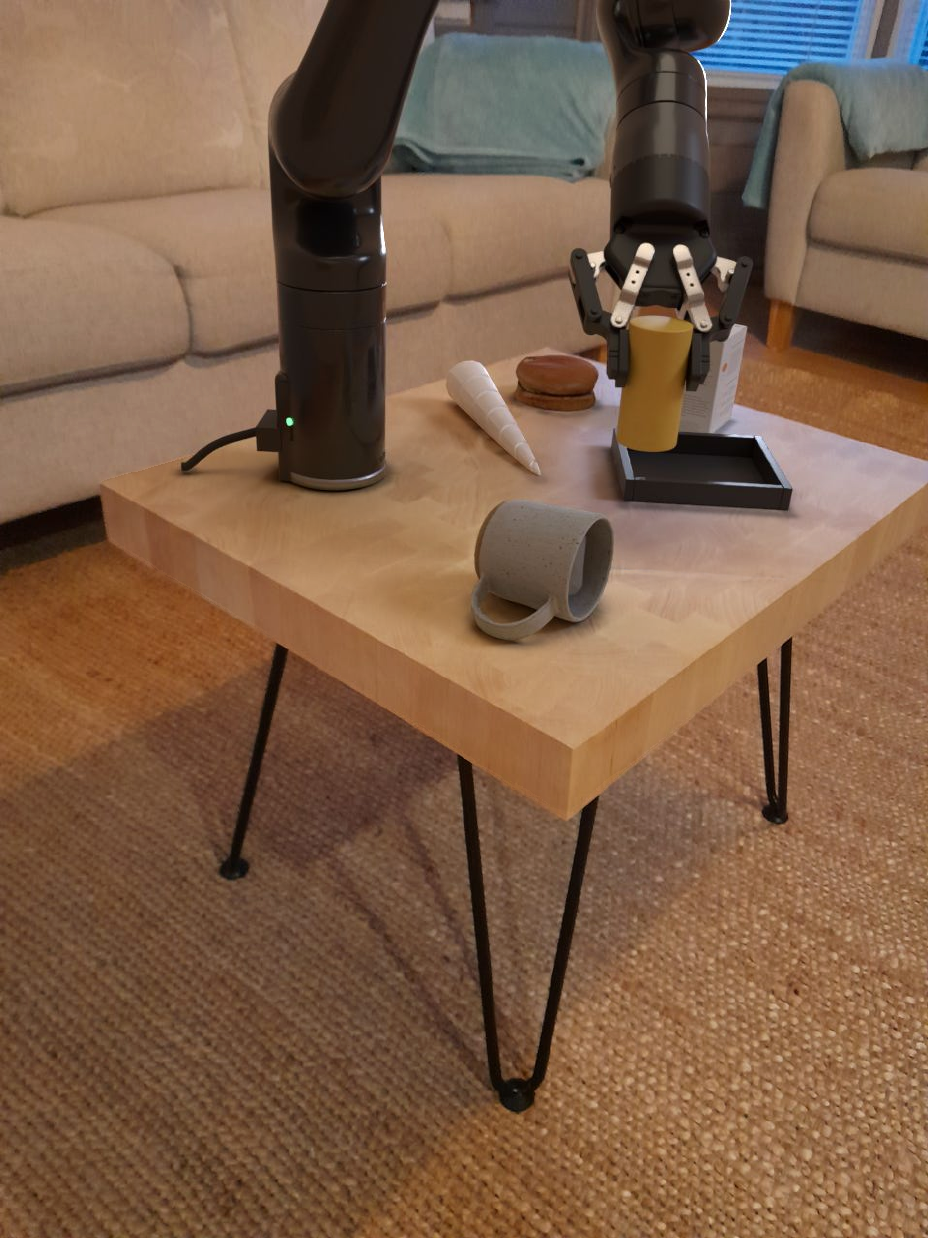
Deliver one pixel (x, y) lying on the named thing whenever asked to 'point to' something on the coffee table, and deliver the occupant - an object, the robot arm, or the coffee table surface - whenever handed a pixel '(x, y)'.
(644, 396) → the yellow cylinder
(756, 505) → the tray
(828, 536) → the coffee table surface
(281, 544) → the coffee table surface
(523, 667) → the coffee table surface
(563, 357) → the burger
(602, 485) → the coffee table surface
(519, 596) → the ceramic mug
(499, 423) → the unicorn horn
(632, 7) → the robot arm
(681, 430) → the small box
